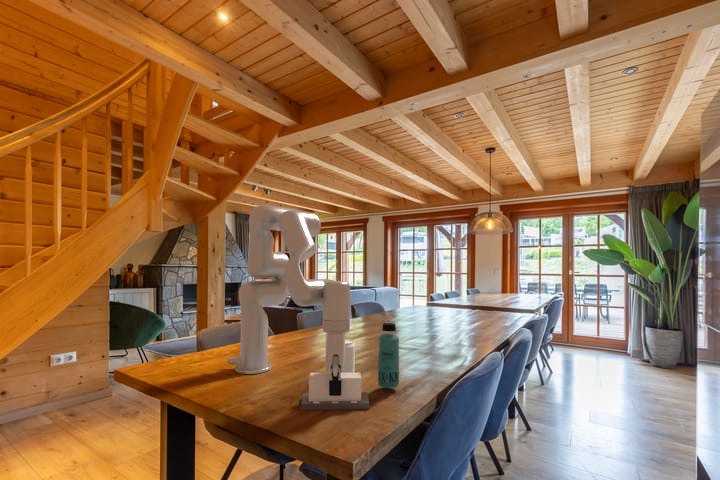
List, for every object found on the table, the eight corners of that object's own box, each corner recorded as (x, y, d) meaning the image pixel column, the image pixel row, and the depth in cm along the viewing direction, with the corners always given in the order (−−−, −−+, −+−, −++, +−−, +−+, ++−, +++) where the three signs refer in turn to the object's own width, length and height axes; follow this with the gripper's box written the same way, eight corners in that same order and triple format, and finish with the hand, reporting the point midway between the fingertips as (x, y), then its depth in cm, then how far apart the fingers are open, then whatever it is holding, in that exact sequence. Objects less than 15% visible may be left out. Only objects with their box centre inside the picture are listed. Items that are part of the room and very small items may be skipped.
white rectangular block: (308, 401, 94) (309, 378, 94) (310, 394, 99) (310, 372, 99) (361, 400, 95) (361, 378, 95) (360, 394, 100) (360, 372, 100)
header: (300, 409, 92) (300, 388, 93) (303, 398, 100) (304, 378, 101) (369, 408, 93) (369, 387, 94) (367, 397, 101) (367, 377, 102)
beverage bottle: (376, 386, 111) (376, 321, 112) (397, 385, 111) (397, 321, 112) (379, 394, 104) (379, 325, 105) (401, 393, 105) (401, 325, 106)
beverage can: (357, 375, 121) (358, 339, 122) (349, 382, 114) (349, 344, 114) (336, 372, 124) (336, 337, 125) (326, 379, 116) (327, 342, 117)
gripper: (324, 320, 107) (323, 378, 106) (320, 331, 89) (319, 401, 88) (349, 320, 107) (348, 378, 106) (350, 331, 90) (349, 400, 89)
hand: (335, 388), depth 97 cm, fingers open, 9 cm apart
